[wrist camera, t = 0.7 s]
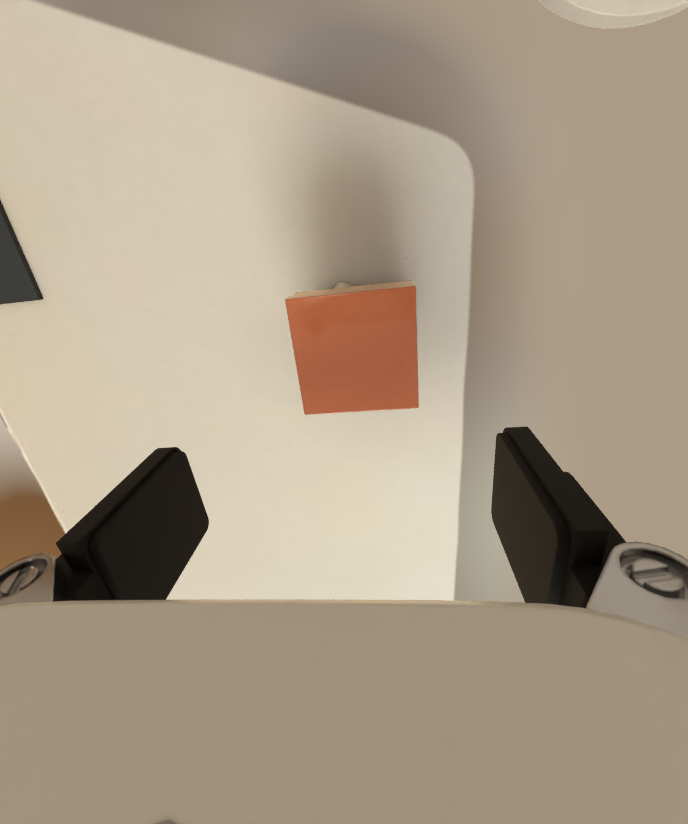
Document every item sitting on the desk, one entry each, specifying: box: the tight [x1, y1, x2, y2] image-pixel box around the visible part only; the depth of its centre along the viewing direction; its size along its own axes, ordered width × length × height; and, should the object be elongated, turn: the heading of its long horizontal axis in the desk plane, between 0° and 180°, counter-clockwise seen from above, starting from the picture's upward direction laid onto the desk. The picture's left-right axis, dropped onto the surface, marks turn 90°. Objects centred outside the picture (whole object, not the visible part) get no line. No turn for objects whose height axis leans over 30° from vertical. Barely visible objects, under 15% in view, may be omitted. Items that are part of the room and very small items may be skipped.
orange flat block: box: [285, 280, 419, 415], centre depth 23 cm, size 7×7×3 cm
